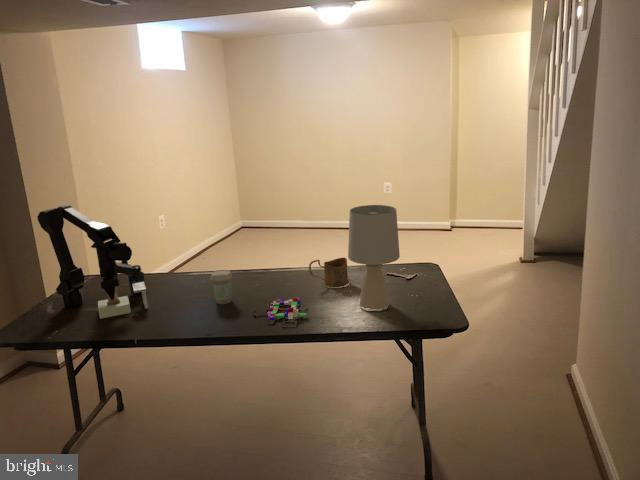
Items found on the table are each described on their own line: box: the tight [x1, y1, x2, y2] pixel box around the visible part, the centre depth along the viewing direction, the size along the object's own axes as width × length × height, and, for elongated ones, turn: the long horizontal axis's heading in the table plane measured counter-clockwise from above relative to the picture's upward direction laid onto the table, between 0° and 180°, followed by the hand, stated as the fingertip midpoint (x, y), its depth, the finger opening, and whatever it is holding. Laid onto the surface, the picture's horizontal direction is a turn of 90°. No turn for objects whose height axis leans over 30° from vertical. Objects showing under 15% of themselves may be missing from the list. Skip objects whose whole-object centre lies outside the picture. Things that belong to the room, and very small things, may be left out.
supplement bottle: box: [126, 264, 148, 297], centre depth 213 cm, size 7×7×12 cm
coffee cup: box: [210, 269, 233, 305], centre depth 200 cm, size 8×8×12 cm
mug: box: [308, 257, 350, 287], centre depth 213 cm, size 12×18×12 cm, turn 115°
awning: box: [132, 282, 149, 310], centre depth 200 cm, size 4×9×8 cm, turn 24°
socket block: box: [97, 295, 132, 320], centre depth 197 cm, size 11×10×4 cm
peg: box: [106, 286, 119, 305], centre depth 196 cm, size 4×4×8 cm
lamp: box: [347, 204, 401, 309], centre depth 185 cm, size 19×19×37 cm
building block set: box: [267, 297, 308, 320], centre depth 188 cm, size 25×20×4 cm
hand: (112, 297), depth 196 cm, fingers closed on peg, 4 cm apart
